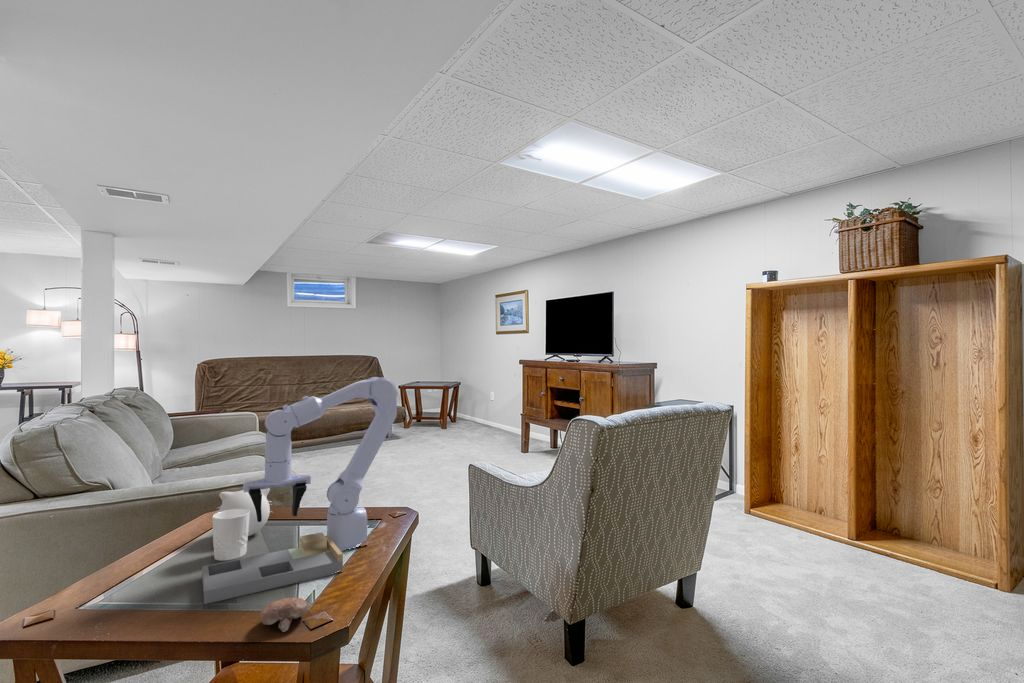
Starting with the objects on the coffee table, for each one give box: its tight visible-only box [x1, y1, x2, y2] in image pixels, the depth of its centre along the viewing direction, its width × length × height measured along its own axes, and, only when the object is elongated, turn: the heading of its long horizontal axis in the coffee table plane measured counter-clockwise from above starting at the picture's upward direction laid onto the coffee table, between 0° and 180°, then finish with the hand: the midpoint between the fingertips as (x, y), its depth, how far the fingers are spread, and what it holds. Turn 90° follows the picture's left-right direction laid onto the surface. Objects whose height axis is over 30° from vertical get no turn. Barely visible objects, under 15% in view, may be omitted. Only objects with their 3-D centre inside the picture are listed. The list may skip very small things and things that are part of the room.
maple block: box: [299, 532, 327, 556], centre depth 114 cm, size 5×5×3 cm
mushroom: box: [258, 596, 309, 633], centre depth 86 cm, size 8×6×8 cm
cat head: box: [216, 488, 273, 537], centre depth 131 cm, size 15×13×12 cm
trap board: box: [201, 534, 344, 605], centre depth 107 cm, size 26×14×4 cm, turn 124°
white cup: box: [211, 509, 250, 562], centre depth 118 cm, size 8×8×10 cm
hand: (277, 517), depth 116 cm, fingers open, 7 cm apart
